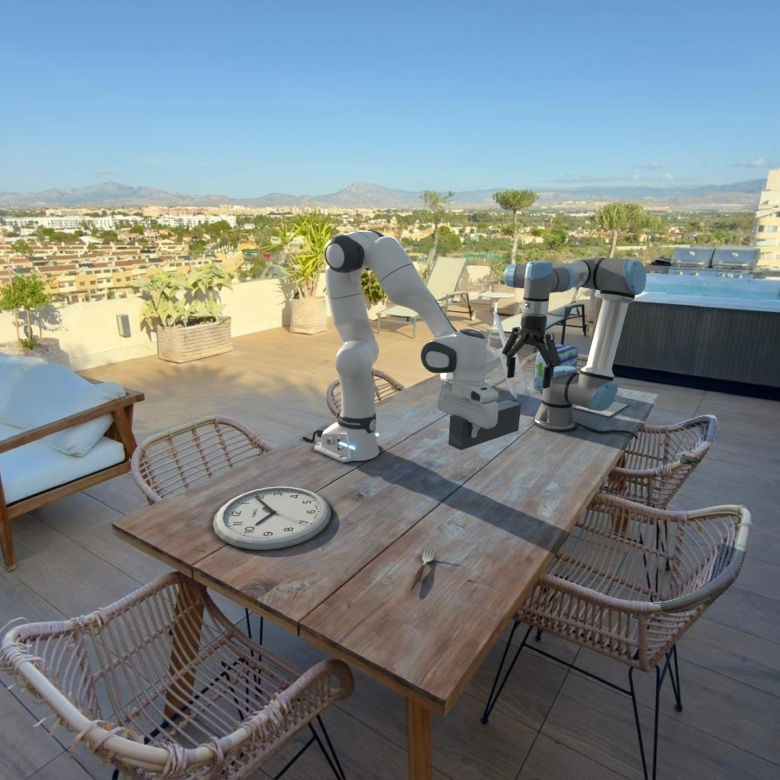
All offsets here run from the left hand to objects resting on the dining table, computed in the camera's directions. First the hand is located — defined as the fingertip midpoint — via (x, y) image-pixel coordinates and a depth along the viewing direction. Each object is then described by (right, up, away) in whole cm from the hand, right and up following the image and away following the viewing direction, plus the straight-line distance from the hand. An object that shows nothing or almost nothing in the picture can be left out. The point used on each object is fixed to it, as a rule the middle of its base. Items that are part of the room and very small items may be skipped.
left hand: (464, 433), depth 150 cm
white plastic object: (+20, +11, +93) cm, 96 cm away
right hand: (+21, +15, +13) cm, 29 cm away
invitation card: (+70, +5, +76) cm, 103 cm away
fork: (-14, -28, -34) cm, 46 cm away
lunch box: (+57, +13, +100) cm, 115 cm away
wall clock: (-52, -21, -14) cm, 58 cm away
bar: (+7, -2, +6) cm, 10 cm away
